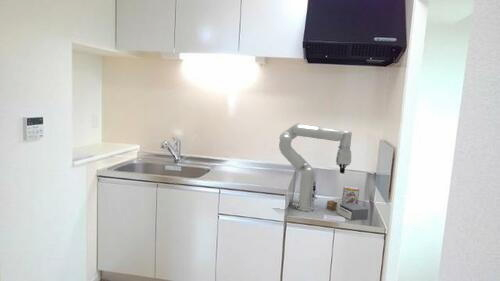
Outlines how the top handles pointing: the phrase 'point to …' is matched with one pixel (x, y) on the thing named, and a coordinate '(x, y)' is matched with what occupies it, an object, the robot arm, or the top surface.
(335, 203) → the block
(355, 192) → the candy bar box
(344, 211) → the tray
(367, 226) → the top surface
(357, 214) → the grey low box
